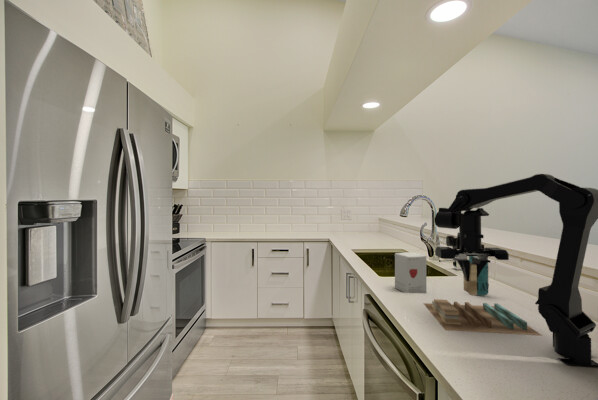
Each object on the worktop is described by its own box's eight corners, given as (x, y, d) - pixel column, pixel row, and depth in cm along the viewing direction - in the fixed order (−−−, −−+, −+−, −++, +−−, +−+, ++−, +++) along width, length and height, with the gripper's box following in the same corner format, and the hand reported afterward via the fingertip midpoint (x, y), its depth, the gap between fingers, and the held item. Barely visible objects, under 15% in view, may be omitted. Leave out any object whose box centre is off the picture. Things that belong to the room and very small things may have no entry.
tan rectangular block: (476, 295, 82) (476, 265, 82) (471, 295, 82) (470, 265, 82) (469, 289, 87) (468, 261, 87) (463, 289, 87) (463, 261, 87)
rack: (542, 339, 72) (542, 327, 72) (445, 333, 75) (445, 322, 75) (498, 309, 92) (498, 300, 92) (423, 306, 95) (423, 297, 95)
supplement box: (407, 295, 107) (407, 256, 107) (394, 288, 115) (394, 252, 115) (427, 293, 109) (427, 255, 109) (413, 286, 117) (412, 251, 118)
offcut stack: (460, 324, 79) (460, 312, 79) (445, 323, 79) (445, 311, 79) (444, 308, 90) (444, 297, 90) (431, 307, 91) (431, 297, 91)
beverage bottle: (469, 297, 103) (468, 244, 103) (468, 292, 109) (467, 242, 109) (490, 300, 100) (489, 245, 100) (487, 294, 106) (487, 243, 106)
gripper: (488, 228, 91) (489, 275, 90) (429, 227, 93) (429, 273, 93) (509, 231, 80) (510, 285, 79) (441, 231, 82) (442, 283, 82)
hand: (470, 281), depth 84 cm, fingers closed on tan rectangular block, 2 cm apart
